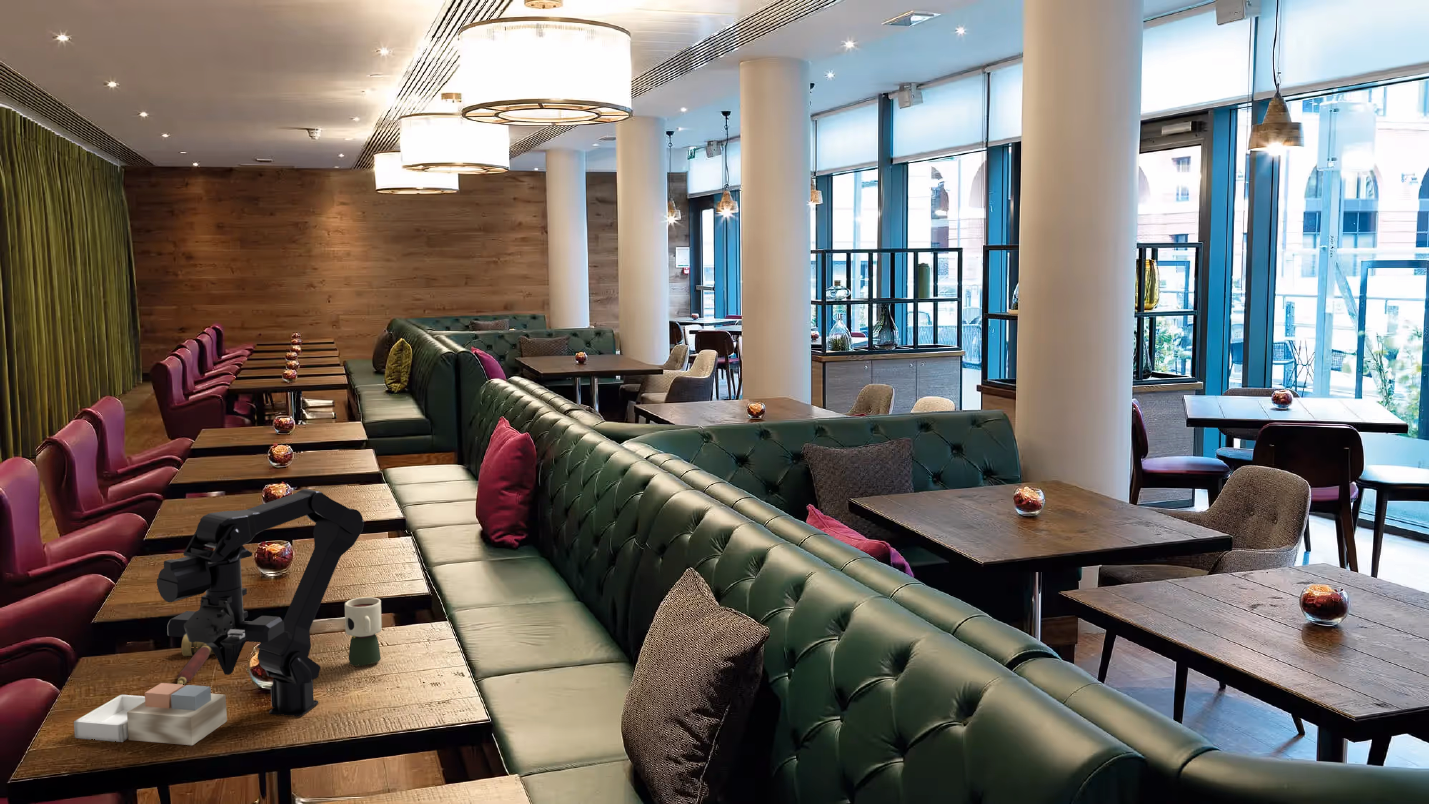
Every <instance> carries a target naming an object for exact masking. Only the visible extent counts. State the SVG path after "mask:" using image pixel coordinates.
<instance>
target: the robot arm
mask: <svg viewBox="0 0 1429 804" xmlns="http://www.w3.org/2000/svg"><path fill="white" fill-rule="evenodd" d="M305 516H306V518H307V519H309V520H311V521H312V522H314V523H315V524H314V527H313V531H312V532H313V543H314V548H313V551H312V553H311V555H310V558H309V561H308V563H307V564H306V567H305V569H304V571H303V574H302V576H301V579H300V581H299V583H298V586H297V588H296V590H295V592H294V594H293V597H292V600H291V602H290V605H289V606H288V608H287V611H286V614H285V616H284V617H283V619H282V618H281V617H280V616H271V615H261V616H259V617H257V618H255V619H254V620H252V621H249V620H248V621H247V620H246V621H245V619H246V618H248V617H249V612H248V611H247V610H244V600H243V597H244V596H247V594H248V592H247V588H244V587H243V579H242V559H246V558H250V557H252V556H253V552H252V551H250V550H248V549H247V548H246V547H245V546H244V545H247V544H248V543H249V542H251V541H252V540H253V538H255V536H256V535H258V534H260V533H261V532H264V531H266V530H270V529H272V528H275V527H278V526H281V525H284V524H287V523H289V522H292V521H294V520H297V519H300V518H303V517H305ZM364 526H365V521H364V518H363V515H362V514H361V512H360V511H359V510H357V509H355V508H352V507H351V508H349V507H347V506H345V505H344V504H341V503H339V502H337V501H335V500H333V499H332V498H330V497H329V496H327V495H326V494H324V493H323V491H320V490H319V491H318V490H315V489H309V488H304V489H300V490H299V491H297V492H295V493H293V494H289V495H287V496H284V497H280V498H277V499H275V500H271V501H268V502H265V503H262V504H258V505H256V506H253V507H250V508H247V509H241V510H226V511H225V510H224V511H217V512H210V513H207V514H205V515H203V516H202V517H201V518H200V519H199V522H198V523H197V526H196V527H197V528H196V530H195V532H194V534H193V536H192V537H191V539H190V541H189V543H188V544H187V545H186V548H185V550H184V551H183V557H180V558H175V559H173V558H171V559H167V560H164V561H163V568H161V569H160V571H159V574H158V577H157V578H156V587H157V590H158V593H159V595H160V596H161V598H162V599H163V600H164V602H166V603H175V602H178V601H181V600H184V599H185V600H186V599H188V598H192V597H194V596H195V597H196V596H199V595H201V594H202V596H201V597H200V598H201V599H200V605H199V606H200V607H199V609H198V610H196V611H193V610H186V611H183V612H182V613H179V615H177V616H174V617H171V619H169V621H168V623H167V626H166V627H167V629H166V630H167V632H166V633H167V636H168V637H177V638H183V637H184V636H185V635H186V634H187V637H188V640H189V642H202V643H205V644H207V645H208V646H210V647H211V649H212V650H213V652H214V654H213V655H215V657H216V659H217V661H218V663H219V667H220V668H221V669H222V672H223V673H224V675H225V676H230V675H232V674H233V672H234V670H235V667H236V665H237V662H238V660H239V658H240V654H241V652H242V649H243V648H244V646H245V643H246V642H247V641H248V642H251V643H259V644H258V645H257V646H256V648H257V649H258V653H257V660H258V663H259V666H260V667H261V668H262V669H264V671H265V673H266V676H267V677H270V678H272V685H270V700H271V707H272V708H271V709H270V710H269V711H268V714H269V715H275V716H287V717H289V716H290V717H303V716H304V715H305V714H307V713H308V712H310V710H312V709H313V708H314V707H316V706H317V705H318V704H319V700H317V699H316V700H315V699H314V698H315V697H314V680H316V679H318V678H319V674H320V671H321V665H319V664H318V663H316V661H314V660H313V659H311V658H310V657H309V655H310V651H311V648H312V645H311V633H310V632H311V631H310V630H311V628H312V625H313V623H314V620H315V618H316V616H317V613H318V612H319V608H320V606H321V603H322V601H323V600H324V596H325V594H326V592H327V590H328V587H329V585H330V582H331V580H332V577H333V574H334V573H335V571H336V568H337V565H338V563H339V561H340V559H341V557H342V556H343V555H344V554H345V553H346V552H347V551H349V550H350V549H351V548H352V547H353V546H354V545H355V543H356V542H357V541H358V538H359V537H360V535H361V533H362V532H363V530H364ZM205 547H208V548H214V550H213V549H207V548H205ZM204 593H205V594H204ZM203 594H204V595H203Z"/></svg>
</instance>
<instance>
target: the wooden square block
mask: <svg viewBox="0 0 1429 804" xmlns="http://www.w3.org/2000/svg"><path fill="white" fill-rule="evenodd" d="M226 699H227V697H226V694H223V693H222V694H220V693H211V701H209V702H208V703H206V704H205V705H203V706H202V707H200V708H199V709H197V710H183V709H172V707H170V708H158V707H146V706H145V702H143V703H142V704H140V705H138V706H137V707H135V708H133V709H132V710H130V711H128V712H127V720H128V736H129V738H128V741H138V742H139V741H140V742H149V743H162V744H172V745H173V744H175V745H183V746H184V745H185V746H186V745H187V746H194V745H195V744H196V743H198V742H199V741H201V740H203V739H204V738H205V737H206V736H209V735H210V734H211V733H212V732H214V731H216V729H218V728H219V727H221V726H222V725H224V724H225V723H226V722H227V721H228V717H227V716H228V715H227V714H228V713H227V700H226Z"/></svg>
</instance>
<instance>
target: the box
mask: <svg viewBox="0 0 1429 804" xmlns="http://www.w3.org/2000/svg"><path fill="white" fill-rule="evenodd" d="M143 702H145V695H144V696H143V695H132V694H131V695H130V694H129V695H128V694H120V695H118V696H116V697H115V698H112V699H111V700H110V701H107V702H106V703H104V704H102V705H100V706H98V707H97V708H95V709H93V710H91V711H90V712H88V713H87V714H85V715H83V716H81V717H79V718H77V719H76V720H74V721H73V729H74V731H73V732H74V738H75V739H80V740H91V739H93V740H94V739H95V740H94V741H104V742H105V741H106V742H115V741H116V743H123V742H124V741H126V740H129V736H128V720H127V712H128V711H130V710H132V709H133V708H135V707H137V706H138V705H140V704H142V703H143ZM93 740H92V741H93Z"/></svg>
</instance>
